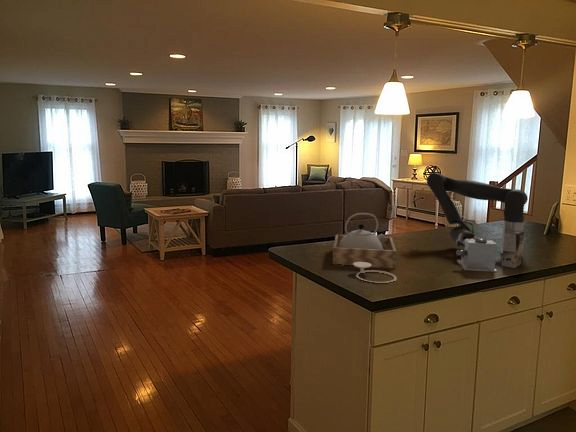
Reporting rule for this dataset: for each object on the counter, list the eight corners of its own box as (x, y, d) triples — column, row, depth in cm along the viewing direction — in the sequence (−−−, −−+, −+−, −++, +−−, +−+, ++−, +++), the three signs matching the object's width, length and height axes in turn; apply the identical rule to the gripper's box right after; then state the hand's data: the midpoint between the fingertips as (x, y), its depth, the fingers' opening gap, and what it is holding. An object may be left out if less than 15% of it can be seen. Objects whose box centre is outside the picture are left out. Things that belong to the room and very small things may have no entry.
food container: (480, 238, 281) (481, 222, 279) (471, 239, 278) (473, 222, 277) (465, 234, 292) (466, 218, 290) (457, 235, 290) (458, 219, 288)
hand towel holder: (378, 277, 185) (341, 265, 201) (378, 287, 186) (341, 275, 202) (405, 269, 196) (368, 259, 212) (405, 280, 197) (367, 268, 212)
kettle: (371, 251, 245) (374, 208, 241) (396, 262, 224) (399, 215, 220) (328, 254, 236) (330, 210, 232) (350, 266, 215) (352, 217, 211)
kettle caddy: (390, 252, 242) (391, 237, 241) (395, 268, 213) (396, 251, 211) (335, 249, 246) (335, 234, 245) (332, 264, 217) (333, 247, 215)
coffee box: (515, 268, 216) (519, 234, 214) (501, 265, 220) (504, 232, 218) (520, 264, 223) (524, 231, 221) (506, 262, 227) (509, 229, 225)
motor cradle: (486, 262, 227) (489, 234, 224) (497, 271, 210) (499, 241, 208) (450, 260, 229) (452, 232, 227) (457, 269, 212) (459, 239, 210)
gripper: (453, 231, 239) (460, 238, 223) (482, 232, 237) (492, 239, 221) (452, 245, 240) (459, 253, 224) (481, 247, 238) (490, 254, 222)
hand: (475, 246), depth 222 cm, fingers open, 8 cm apart
